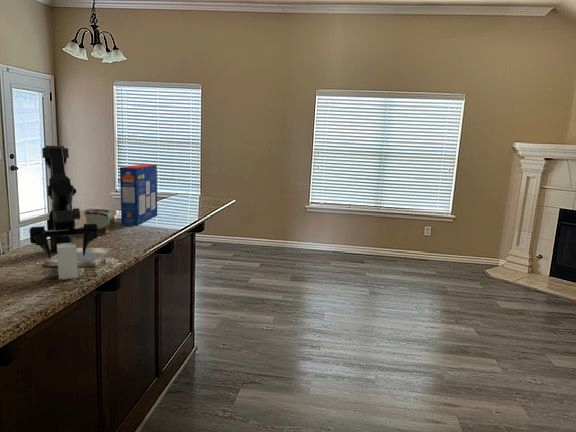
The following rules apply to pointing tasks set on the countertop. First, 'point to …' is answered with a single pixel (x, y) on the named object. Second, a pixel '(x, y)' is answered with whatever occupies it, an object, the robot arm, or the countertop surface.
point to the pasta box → (138, 193)
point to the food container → (99, 219)
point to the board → (85, 257)
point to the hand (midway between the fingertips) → (67, 256)
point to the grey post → (67, 260)
